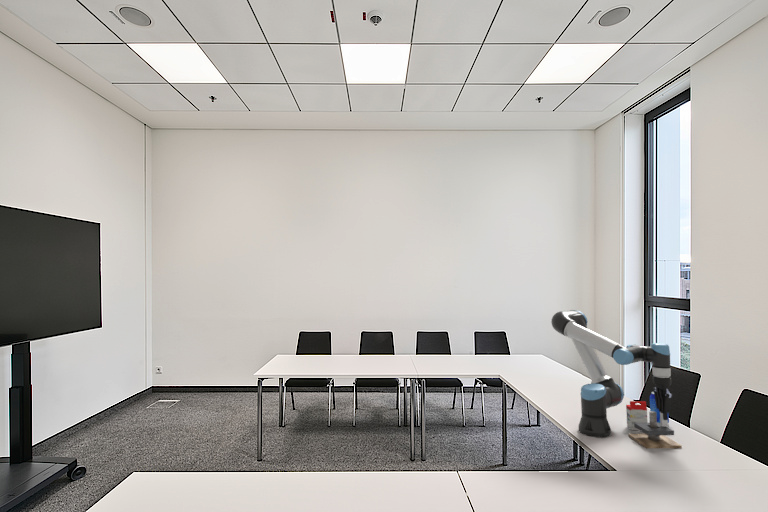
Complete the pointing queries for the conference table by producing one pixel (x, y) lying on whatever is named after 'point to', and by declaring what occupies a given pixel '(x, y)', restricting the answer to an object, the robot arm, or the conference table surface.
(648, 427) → the square holed plate
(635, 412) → the ink box
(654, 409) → the beer can
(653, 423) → the pipe stand
